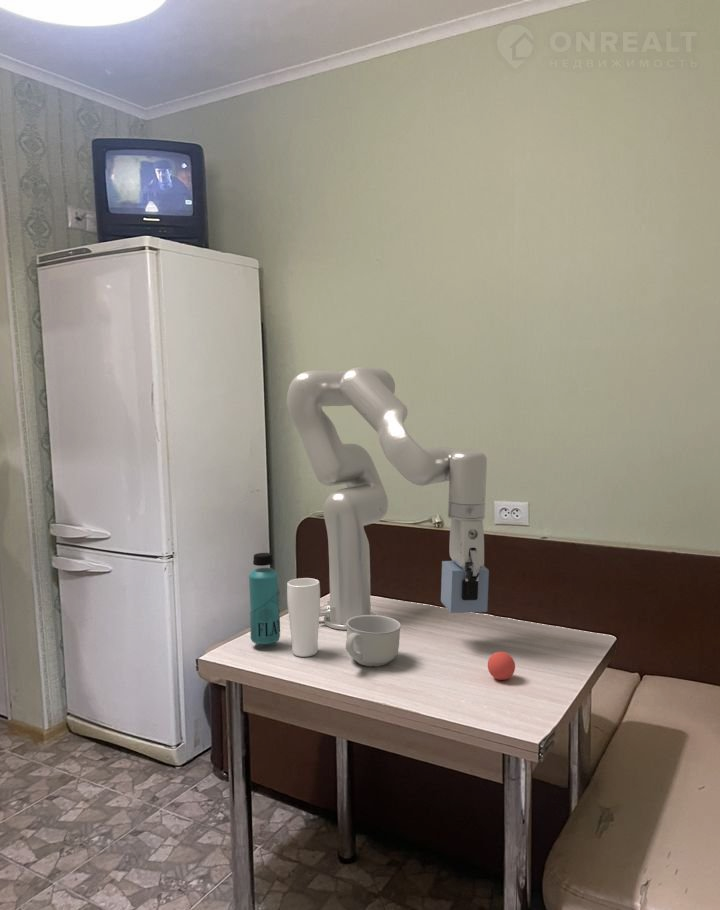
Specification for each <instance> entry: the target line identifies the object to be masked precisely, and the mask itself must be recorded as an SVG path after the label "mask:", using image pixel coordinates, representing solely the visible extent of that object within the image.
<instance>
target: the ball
mask: <svg viewBox="0 0 720 910" xmlns="http://www.w3.org/2000/svg"><path fill="white" fill-rule="evenodd" d="M487 670H488V672H489V674H490V675H491V676H492V677H493V679H496V680H500V681H505V680H509V679H510V678H511V677H512V676H513V675H514V674H515V670H516V663H515V660H514V658H513V657H512V656H511V654H509V653H507V652H506V651H505V652H504V651H497V652H494V653H492V654H491V656H490V657H489V658H488V660H487Z"/></svg>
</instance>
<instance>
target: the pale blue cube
mask: <svg viewBox="0 0 720 910" xmlns="http://www.w3.org/2000/svg"><path fill="white" fill-rule="evenodd" d="M467 565H471V564H466V566H467ZM469 571H471V570H467V573H469ZM463 574H464V571H463V568H461V567H460V566H459V565H458V564H456V563H455V562H454V561H452V560H442V561H441V585H440V587H441V588H440V589H441V590H440V591H441V592H440V602H441V604H442V605H443V607H445V608H446V609H447V610H448V612H449V613H450V614H467V613H487V612H488V601H489V576H490V570H489V569H488V568H487V567H486V566H485V565H484V566H483V567H482V568H480V570H479V581H478V599H477V600H463V599H462V580H464V575H463Z"/></svg>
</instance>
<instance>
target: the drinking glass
mask: <svg viewBox="0 0 720 910" xmlns="http://www.w3.org/2000/svg"><path fill="white" fill-rule="evenodd" d="M286 599H287V600H286V601H287V611H288V621H289V629H290V637H291V639H290V640H291V653H293V655H295V657H296V656H297V657H302V658H305V657H306V658H308V657H312V656H315V655H316V654H317V653H318V651H319V628H320V627H319V626H320V617H319V613H320V607H321V586H320V580H318V579H315V578H310V577H303V578H302V577H301V578H300V577H299V578H294V579H290V580H289V581H287V582H286Z"/></svg>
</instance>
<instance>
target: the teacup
mask: <svg viewBox="0 0 720 910" xmlns="http://www.w3.org/2000/svg"><path fill="white" fill-rule="evenodd" d="M401 627H402V624H401V622H399V620H397V619H395V618H392V617H389V616H386V615H379V614H376V615H361V616H355V617H353V618H350V619H349V620H348V621H347V630H346V639H345V640H346V641H345V650H346V651H347V653H348V655H349V656H350V657H351V658H353V660H355V662H356V663H358V664H359V665H362V666H365V667H372V666H375V667H382V666H386V665H388V664H389V662H390V661H393V660H394V659H395V658H396V656H397V655H398V653H399V648H400V637H401V635H400V634H401V633H400V632H401ZM381 665H382V666H381Z"/></svg>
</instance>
